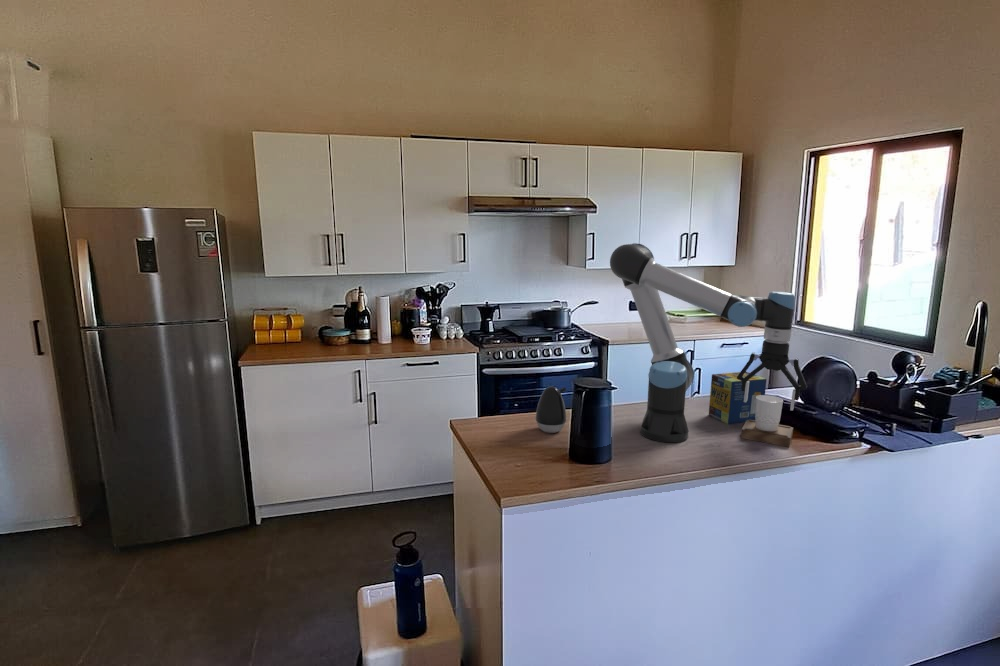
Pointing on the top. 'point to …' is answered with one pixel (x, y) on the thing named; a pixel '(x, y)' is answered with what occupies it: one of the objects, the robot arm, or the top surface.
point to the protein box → (734, 397)
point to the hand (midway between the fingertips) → (768, 405)
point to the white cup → (768, 412)
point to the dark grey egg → (551, 410)
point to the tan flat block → (767, 434)
